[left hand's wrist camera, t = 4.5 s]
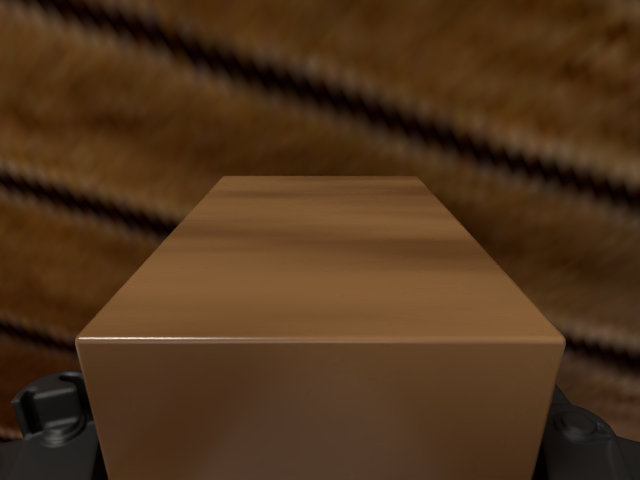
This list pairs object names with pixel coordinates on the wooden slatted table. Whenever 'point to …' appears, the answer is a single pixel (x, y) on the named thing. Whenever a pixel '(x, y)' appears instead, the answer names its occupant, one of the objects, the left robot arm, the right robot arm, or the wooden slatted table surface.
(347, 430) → the box
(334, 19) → the wooden slatted table surface
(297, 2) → the wooden slatted table surface
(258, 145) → the wooden slatted table surface
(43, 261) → the wooden slatted table surface
